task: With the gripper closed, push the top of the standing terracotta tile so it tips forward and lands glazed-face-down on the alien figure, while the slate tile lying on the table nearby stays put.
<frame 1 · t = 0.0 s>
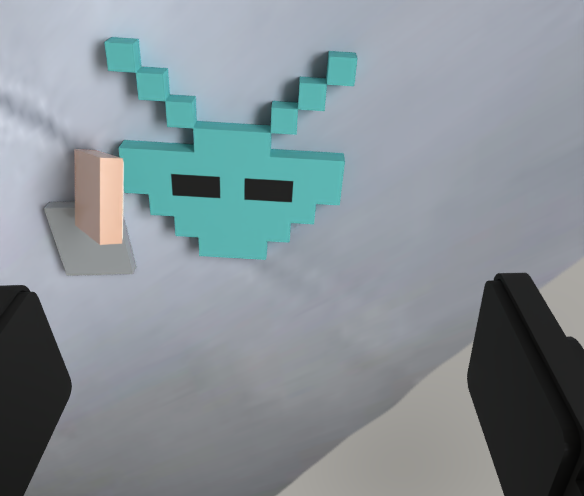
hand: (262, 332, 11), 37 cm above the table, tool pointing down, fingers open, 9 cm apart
alien figure: (235, 155, 49), on the table
terracotta tile: (111, 201, 43), point 8 cm above the table, tilted 141°
slate tile: (96, 233, 54), on the table
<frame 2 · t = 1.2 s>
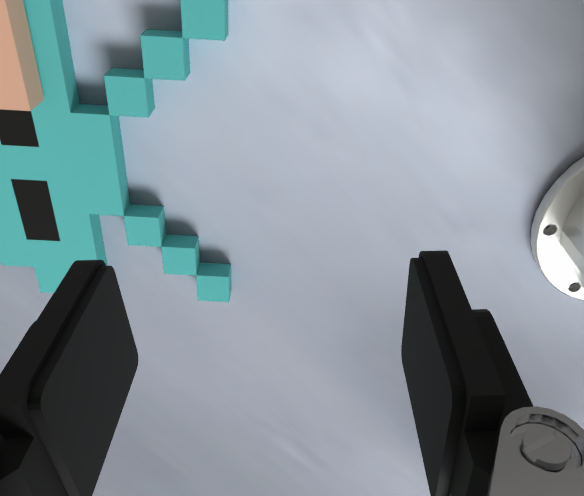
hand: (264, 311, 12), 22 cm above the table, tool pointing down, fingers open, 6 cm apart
alien figure: (75, 149, 34), on the table
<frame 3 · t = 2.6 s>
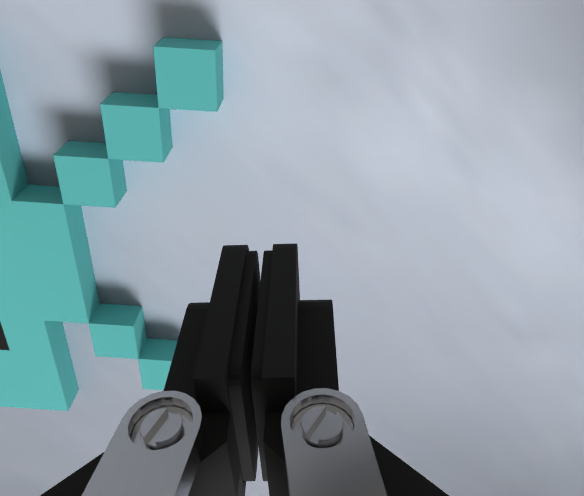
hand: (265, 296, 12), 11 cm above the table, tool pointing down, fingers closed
alien figure: (28, 235, 26), on the table, touching terracotta tile
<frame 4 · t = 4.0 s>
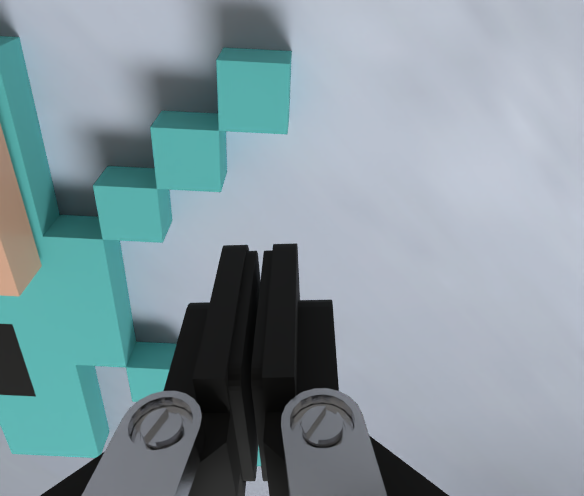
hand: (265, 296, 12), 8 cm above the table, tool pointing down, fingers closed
alien figure: (56, 269, 23), on the table, touching terracotta tile
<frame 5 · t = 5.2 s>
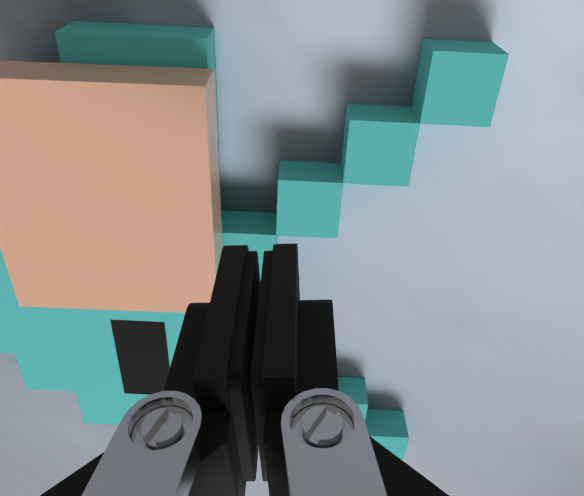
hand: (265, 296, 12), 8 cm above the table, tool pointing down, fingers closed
alien figure: (200, 266, 23), on the table, touching terracotta tile
terracotta tile: (125, 294, 19), point 3 cm above the table, tilted 90°, touching alien figure
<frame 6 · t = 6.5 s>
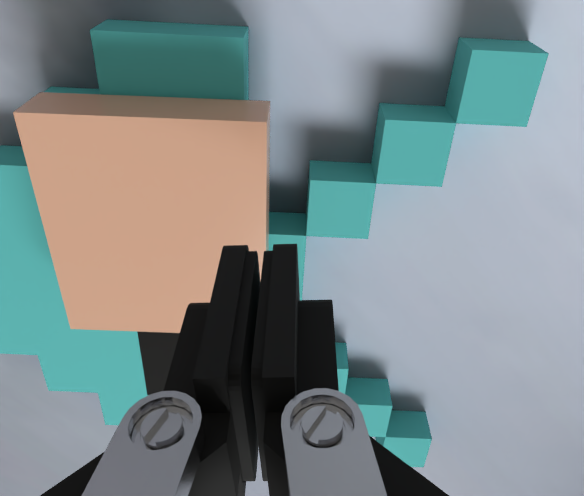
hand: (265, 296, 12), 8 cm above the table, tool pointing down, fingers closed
alien figure: (224, 267, 23), on the table, touching terracotta tile
terracotta tile: (173, 316, 20), point 3 cm above the table, tilted 90°, touching alien figure
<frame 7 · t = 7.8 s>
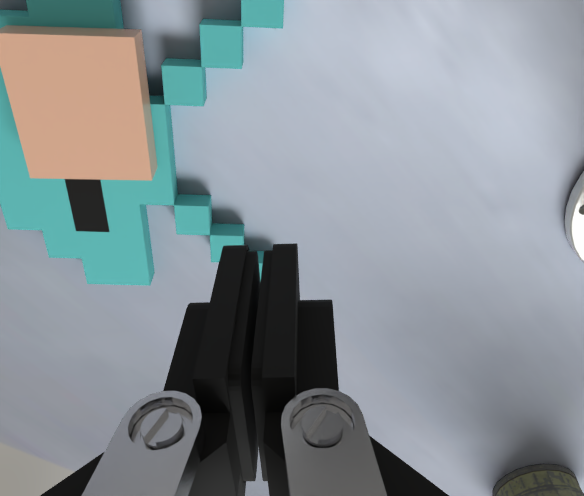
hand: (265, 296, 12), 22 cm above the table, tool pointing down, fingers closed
alien figure: (124, 140, 34), on the table, touching terracotta tile
terracotta tile: (95, 172, 32), point 3 cm above the table, tilted 90°, touching alien figure
thermos: (532, 486, 56), on the table
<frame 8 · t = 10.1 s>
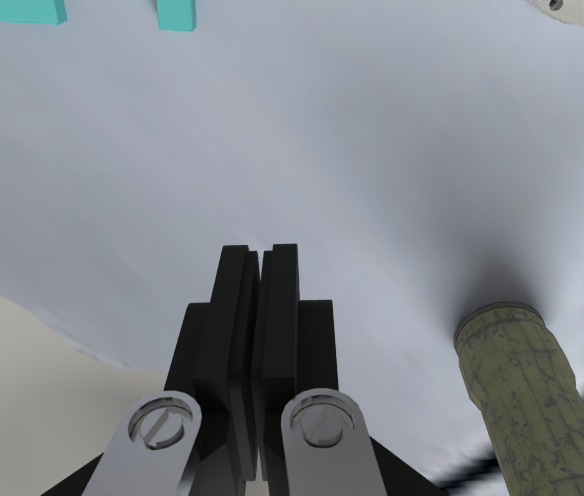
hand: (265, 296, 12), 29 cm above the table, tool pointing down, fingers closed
thermos: (497, 335, 52), on the table
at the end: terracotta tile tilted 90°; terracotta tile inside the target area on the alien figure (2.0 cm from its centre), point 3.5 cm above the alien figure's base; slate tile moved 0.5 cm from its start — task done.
